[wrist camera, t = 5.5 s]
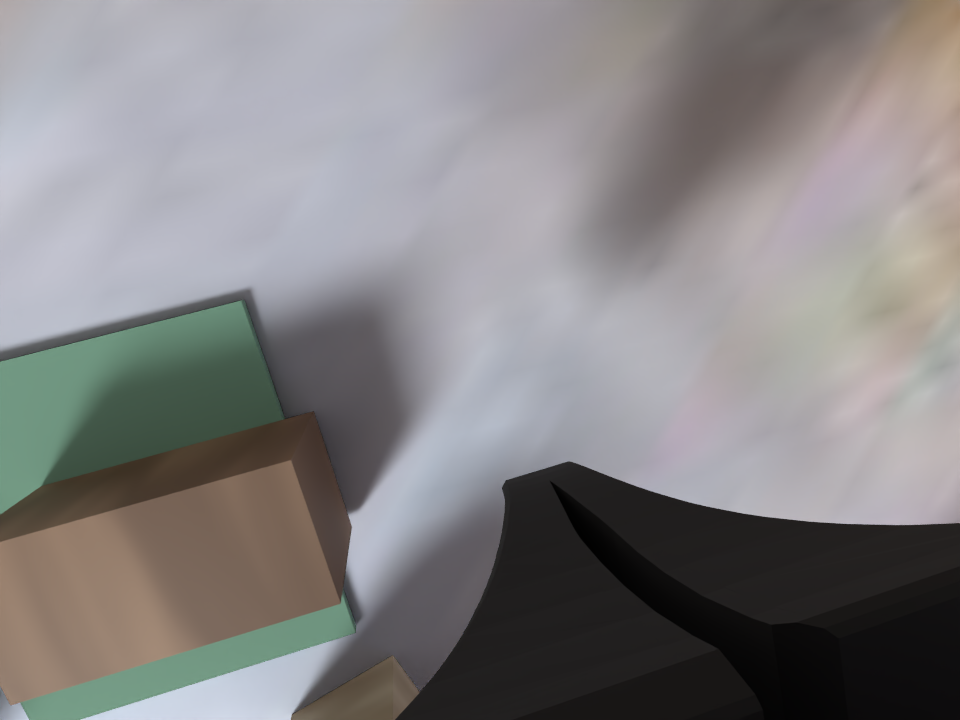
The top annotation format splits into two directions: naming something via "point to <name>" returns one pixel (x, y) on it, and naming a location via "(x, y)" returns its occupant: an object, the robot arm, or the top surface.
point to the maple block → (365, 696)
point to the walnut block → (168, 555)
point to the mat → (138, 434)
